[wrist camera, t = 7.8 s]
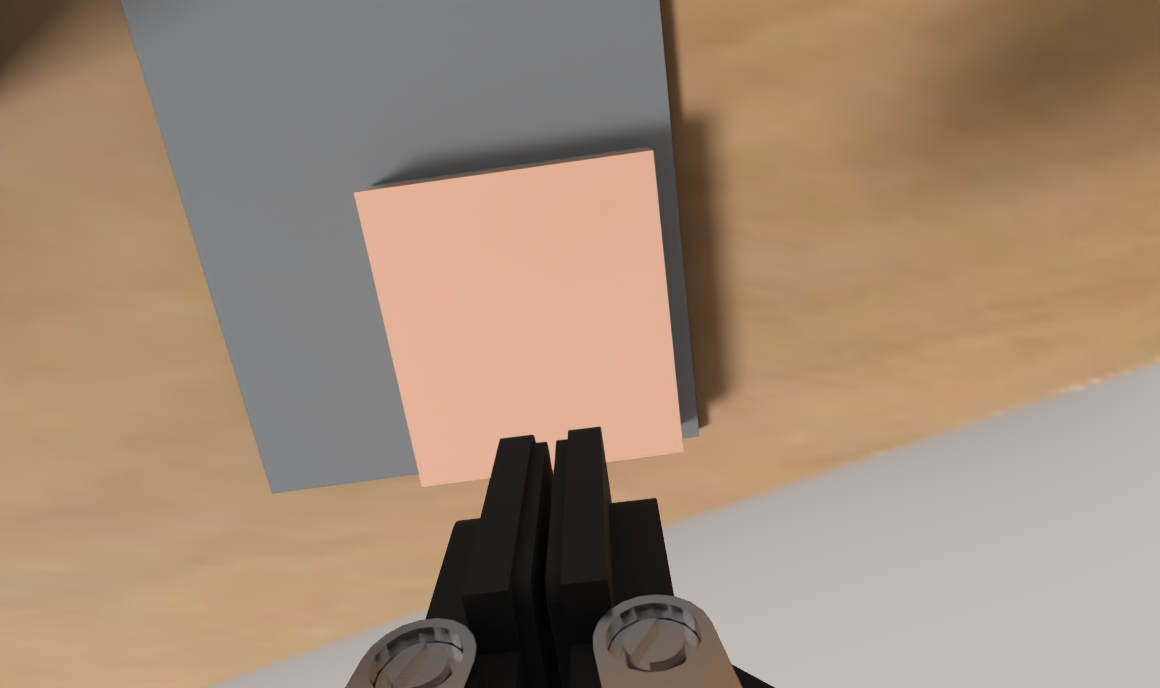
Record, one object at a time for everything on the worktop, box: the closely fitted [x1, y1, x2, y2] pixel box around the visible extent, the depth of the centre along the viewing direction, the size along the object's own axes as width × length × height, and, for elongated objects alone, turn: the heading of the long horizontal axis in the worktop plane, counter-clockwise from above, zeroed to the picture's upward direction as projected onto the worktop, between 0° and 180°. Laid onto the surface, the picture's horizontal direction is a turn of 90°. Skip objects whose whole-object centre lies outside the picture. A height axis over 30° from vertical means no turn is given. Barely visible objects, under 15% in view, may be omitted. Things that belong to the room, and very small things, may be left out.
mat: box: [120, 0, 699, 493], centre depth 23 cm, size 16×26×1 cm, turn 8°
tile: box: [354, 147, 683, 487], centre depth 24 cm, size 2×10×9 cm
